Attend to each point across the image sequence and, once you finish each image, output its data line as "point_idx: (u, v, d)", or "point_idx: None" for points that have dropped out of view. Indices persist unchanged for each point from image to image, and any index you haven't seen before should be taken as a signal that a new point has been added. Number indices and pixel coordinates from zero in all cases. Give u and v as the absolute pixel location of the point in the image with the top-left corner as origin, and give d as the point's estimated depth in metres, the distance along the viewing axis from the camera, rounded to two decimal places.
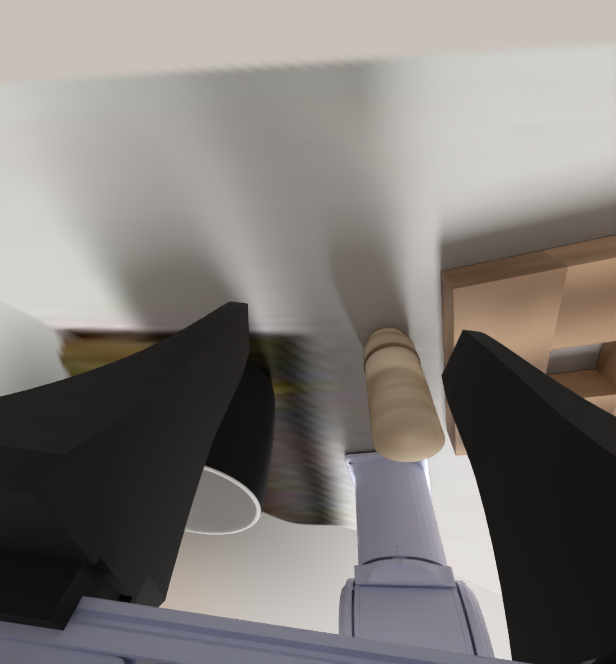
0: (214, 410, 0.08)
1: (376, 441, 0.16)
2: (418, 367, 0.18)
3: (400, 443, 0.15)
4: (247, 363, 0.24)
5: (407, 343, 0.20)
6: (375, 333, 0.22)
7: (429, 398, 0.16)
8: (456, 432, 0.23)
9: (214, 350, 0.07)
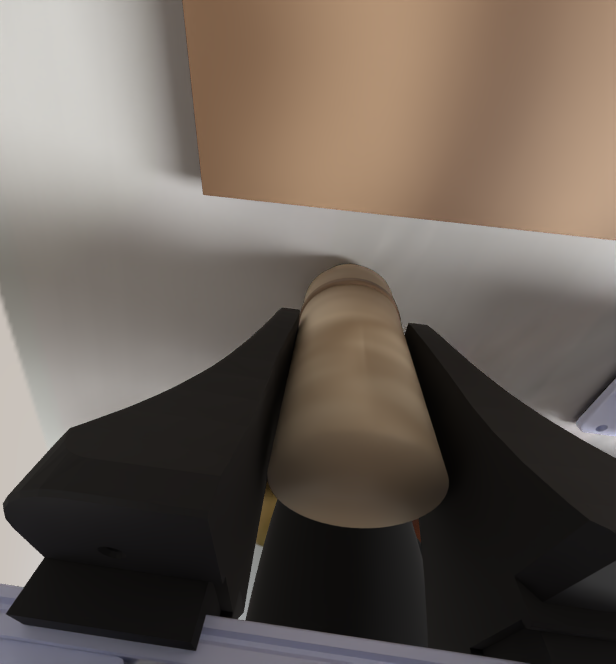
0: (276, 418, 0.08)
1: (330, 520, 0.07)
2: (324, 310, 0.09)
3: (354, 497, 0.06)
4: None
5: (318, 285, 0.11)
6: None
7: (324, 362, 0.07)
8: None
9: (281, 358, 0.07)
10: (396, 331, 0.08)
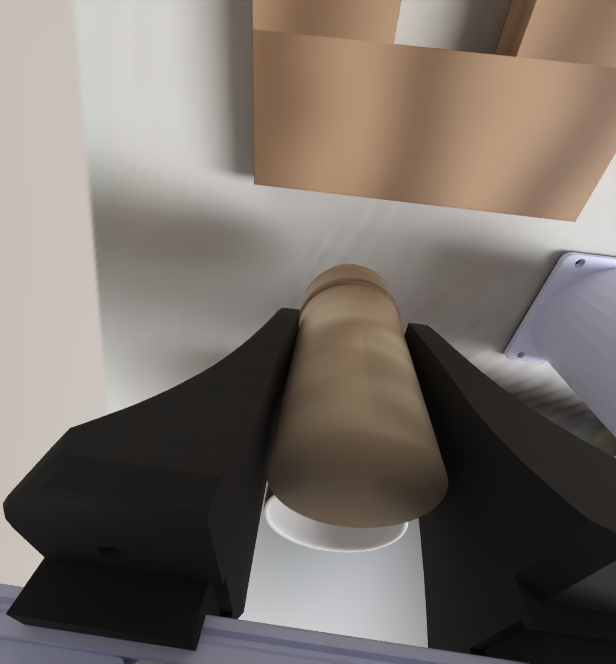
0: (276, 418, 0.08)
1: (330, 520, 0.07)
2: (323, 310, 0.09)
3: (354, 496, 0.06)
4: None
5: (318, 285, 0.11)
6: None
7: (323, 362, 0.07)
8: (512, 212, 0.15)
9: (281, 358, 0.07)
10: (396, 331, 0.08)
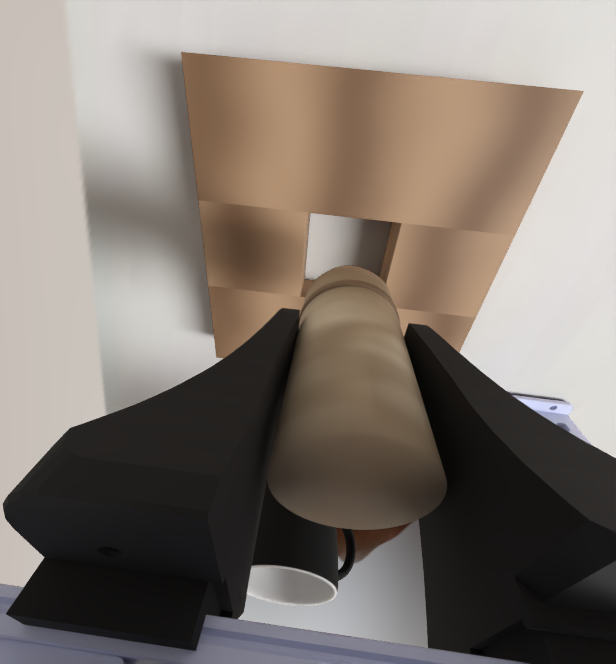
0: (276, 418, 0.08)
1: (327, 521, 0.07)
2: (325, 312, 0.09)
3: (353, 499, 0.06)
4: None
5: (319, 286, 0.11)
6: None
7: (326, 364, 0.07)
8: None
9: (281, 358, 0.07)
10: (397, 335, 0.08)
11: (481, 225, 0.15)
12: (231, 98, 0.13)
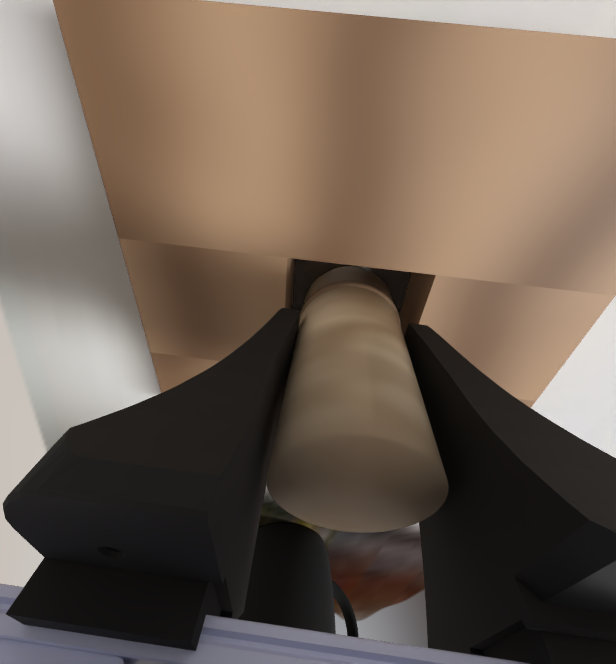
0: (276, 418, 0.08)
1: (327, 524, 0.07)
2: (325, 312, 0.09)
3: (353, 501, 0.06)
4: (259, 532, 0.25)
5: (319, 286, 0.11)
6: None
7: (326, 365, 0.07)
8: None
9: (282, 358, 0.07)
10: (398, 335, 0.08)
11: (563, 280, 0.09)
12: (149, 74, 0.07)
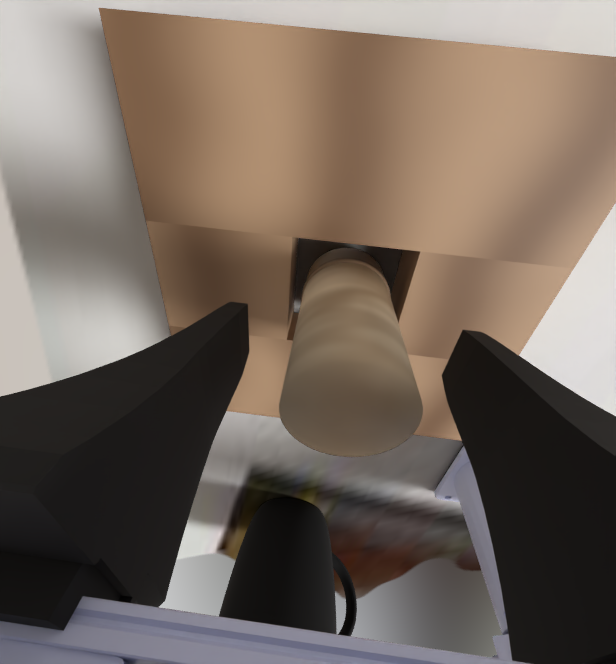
0: (214, 410, 0.08)
1: (327, 449, 0.08)
2: (325, 282, 0.10)
3: (348, 425, 0.08)
4: (263, 507, 0.27)
5: (320, 264, 0.12)
6: None
7: (326, 318, 0.08)
8: None
9: (214, 350, 0.07)
10: (386, 300, 0.10)
11: (529, 255, 0.11)
12: (178, 79, 0.09)
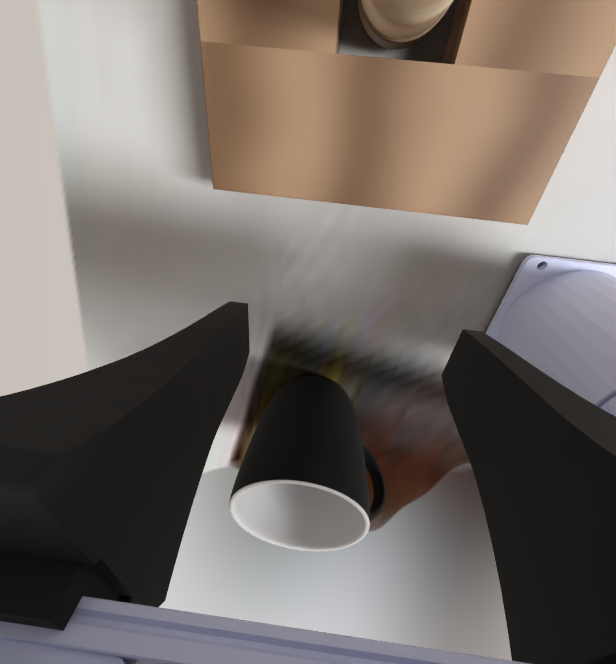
0: (214, 410, 0.08)
1: None
2: None
3: None
4: (285, 383, 0.25)
5: None
6: None
7: None
8: (465, 215, 0.15)
9: (214, 350, 0.07)
10: None
11: None
12: None
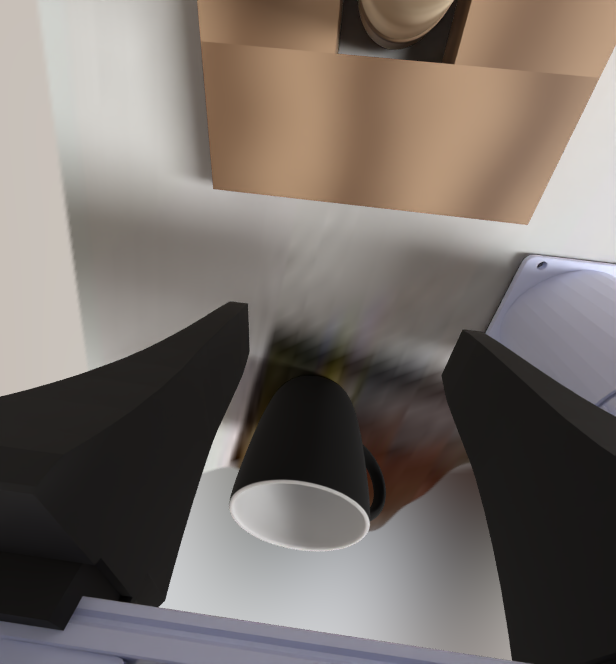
0: (214, 410, 0.08)
1: None
2: None
3: None
4: (285, 383, 0.25)
5: None
6: None
7: None
8: (465, 215, 0.15)
9: (214, 350, 0.07)
10: None
11: None
12: None
